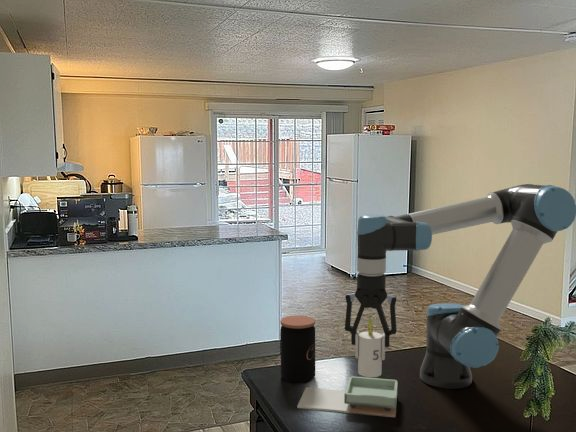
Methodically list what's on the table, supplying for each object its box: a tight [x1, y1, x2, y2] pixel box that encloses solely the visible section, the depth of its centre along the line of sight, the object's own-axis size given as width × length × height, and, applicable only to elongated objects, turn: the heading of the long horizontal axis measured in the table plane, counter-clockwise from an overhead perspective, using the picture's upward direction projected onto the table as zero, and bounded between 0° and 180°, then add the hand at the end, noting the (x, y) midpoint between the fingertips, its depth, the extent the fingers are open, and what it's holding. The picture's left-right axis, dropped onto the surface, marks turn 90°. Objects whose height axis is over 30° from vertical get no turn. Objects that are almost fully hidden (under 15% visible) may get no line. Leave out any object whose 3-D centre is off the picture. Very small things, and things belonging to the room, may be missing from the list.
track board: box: [297, 386, 398, 418], centre depth 149 cm, size 26×13×1 cm, turn 77°
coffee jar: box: [280, 315, 316, 384], centre depth 166 cm, size 11×11×18 cm
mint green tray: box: [344, 375, 399, 411], centre depth 148 cm, size 13×12×4 cm
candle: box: [357, 318, 383, 378], centre depth 146 cm, size 6×6×15 cm
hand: (370, 357), depth 147 cm, fingers closed on candle, 6 cm apart
